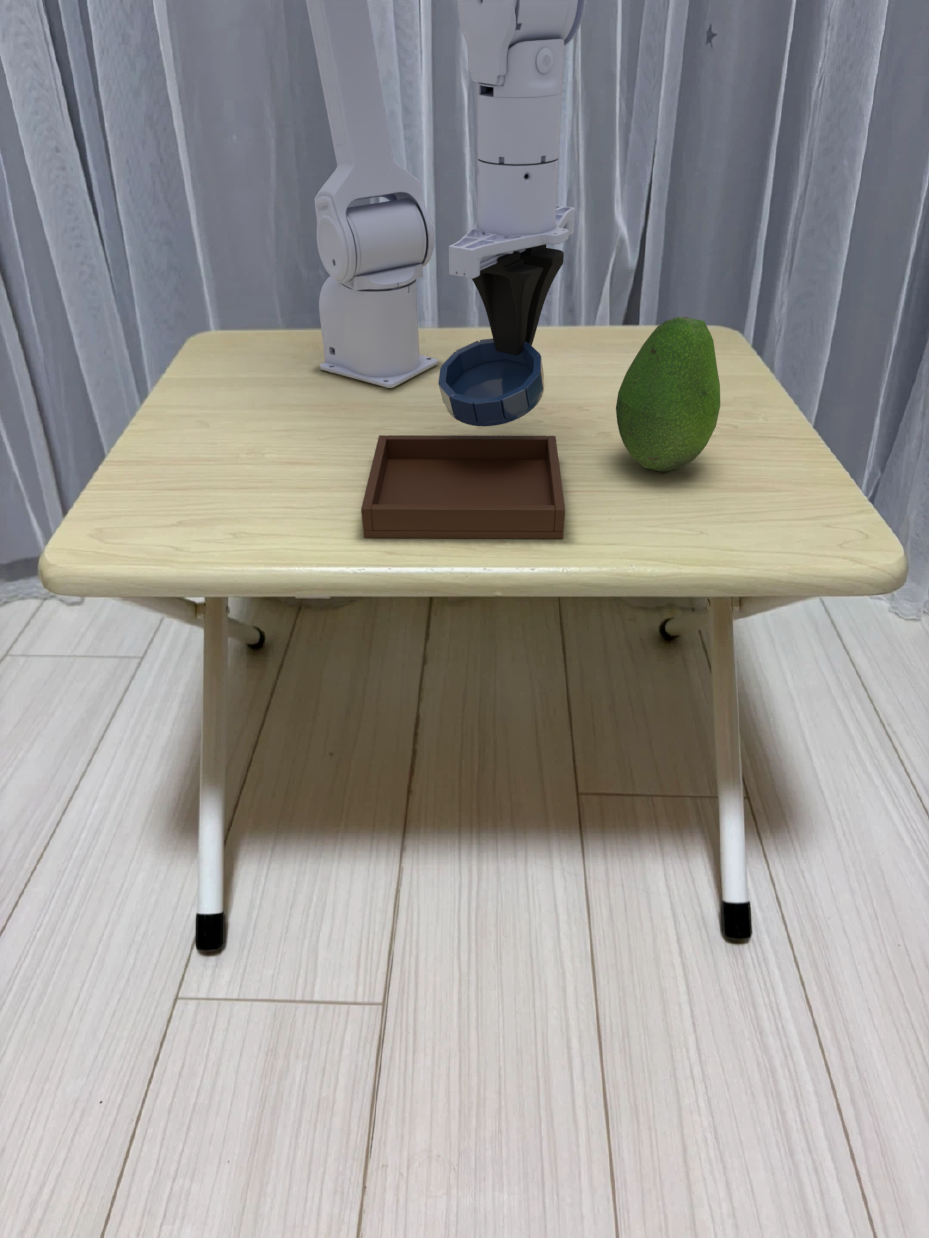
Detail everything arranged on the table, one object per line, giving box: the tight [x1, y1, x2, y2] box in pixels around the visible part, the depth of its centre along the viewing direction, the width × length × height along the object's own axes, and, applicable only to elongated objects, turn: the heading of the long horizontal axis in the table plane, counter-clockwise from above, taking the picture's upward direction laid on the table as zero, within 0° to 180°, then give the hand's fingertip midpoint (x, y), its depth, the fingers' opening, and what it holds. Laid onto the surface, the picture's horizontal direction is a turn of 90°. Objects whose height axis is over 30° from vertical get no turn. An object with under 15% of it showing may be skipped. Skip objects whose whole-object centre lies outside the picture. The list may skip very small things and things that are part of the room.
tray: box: [360, 434, 566, 540], centre depth 66 cm, size 14×12×2 cm
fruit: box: [615, 316, 721, 473], centre depth 67 cm, size 8×8×12 cm
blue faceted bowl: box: [437, 337, 545, 427], centre depth 68 cm, size 8×8×2 cm
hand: (513, 349), depth 69 cm, fingers closed on blue faceted bowl, 1 cm apart
